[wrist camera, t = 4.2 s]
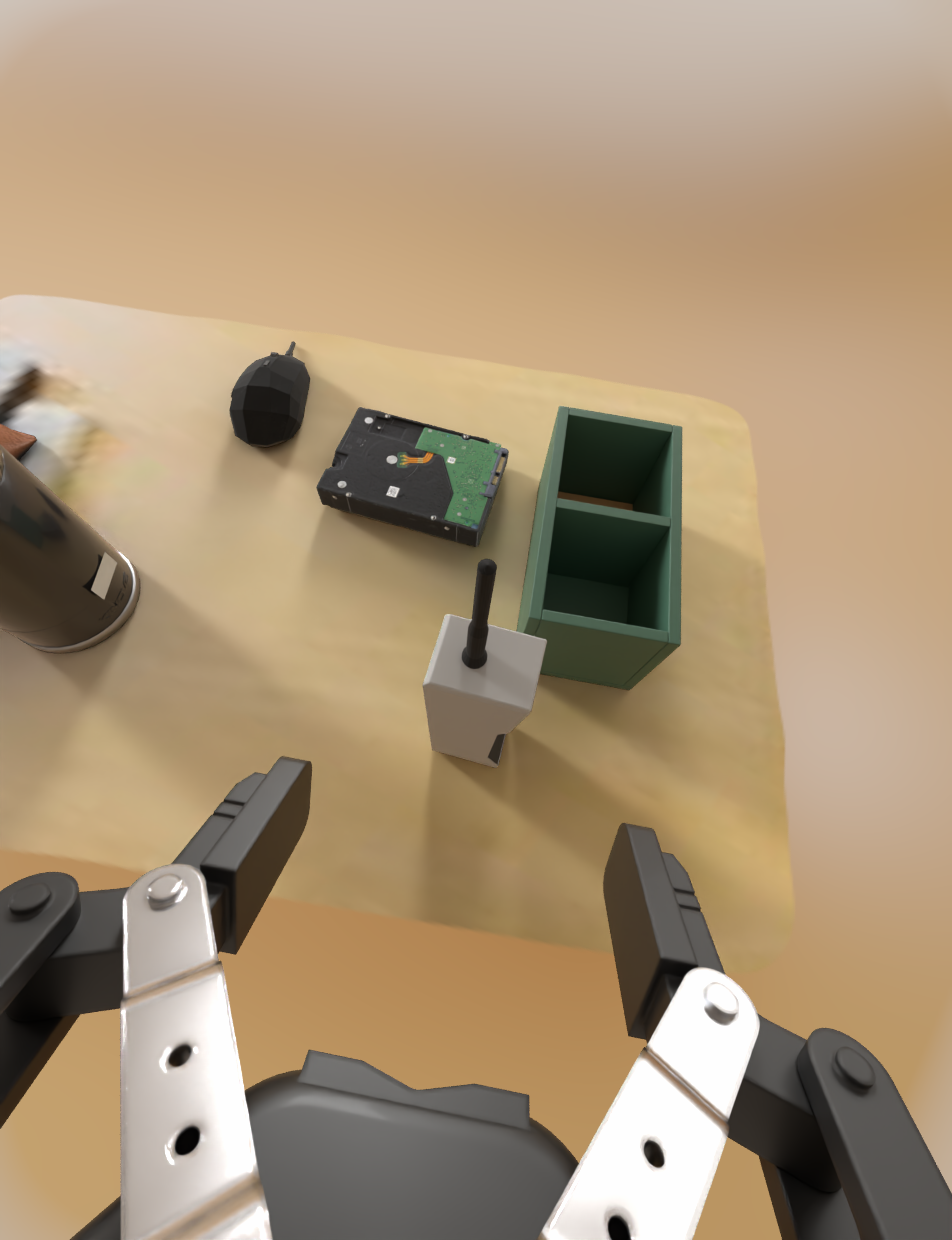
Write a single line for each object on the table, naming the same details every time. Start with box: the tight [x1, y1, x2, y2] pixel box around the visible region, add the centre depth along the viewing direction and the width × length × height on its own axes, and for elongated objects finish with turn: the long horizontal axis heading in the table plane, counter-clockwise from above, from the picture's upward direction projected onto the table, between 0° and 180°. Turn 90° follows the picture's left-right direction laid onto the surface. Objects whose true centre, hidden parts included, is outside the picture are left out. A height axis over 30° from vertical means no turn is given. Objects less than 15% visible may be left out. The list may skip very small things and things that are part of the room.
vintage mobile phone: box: [423, 559, 547, 768], centre depth 27 cm, size 4×5×25 cm
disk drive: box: [317, 407, 509, 547], centre depth 47 cm, size 10×3×15 cm
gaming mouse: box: [230, 342, 310, 447], centre depth 50 cm, size 6×15×4 cm, turn 176°
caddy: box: [517, 406, 682, 690], centre depth 40 cm, size 10×18×10 cm, turn 170°
